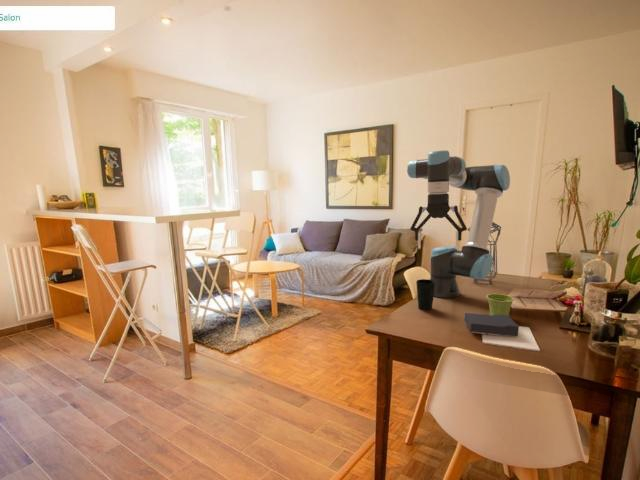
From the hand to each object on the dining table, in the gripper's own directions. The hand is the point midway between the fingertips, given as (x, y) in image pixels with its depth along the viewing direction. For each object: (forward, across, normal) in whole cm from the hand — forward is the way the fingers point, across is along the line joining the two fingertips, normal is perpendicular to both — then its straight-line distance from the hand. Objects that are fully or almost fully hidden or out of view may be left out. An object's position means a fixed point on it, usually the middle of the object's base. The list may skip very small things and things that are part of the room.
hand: (437, 248), depth 127 cm
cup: (+29, -5, +9) cm, 30 cm away
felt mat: (+28, +23, -10) cm, 38 cm away
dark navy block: (+25, +10, -9) cm, 29 cm away
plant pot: (+29, +23, +6) cm, 37 cm away
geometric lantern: (+31, +21, +59) cm, 70 cm away
